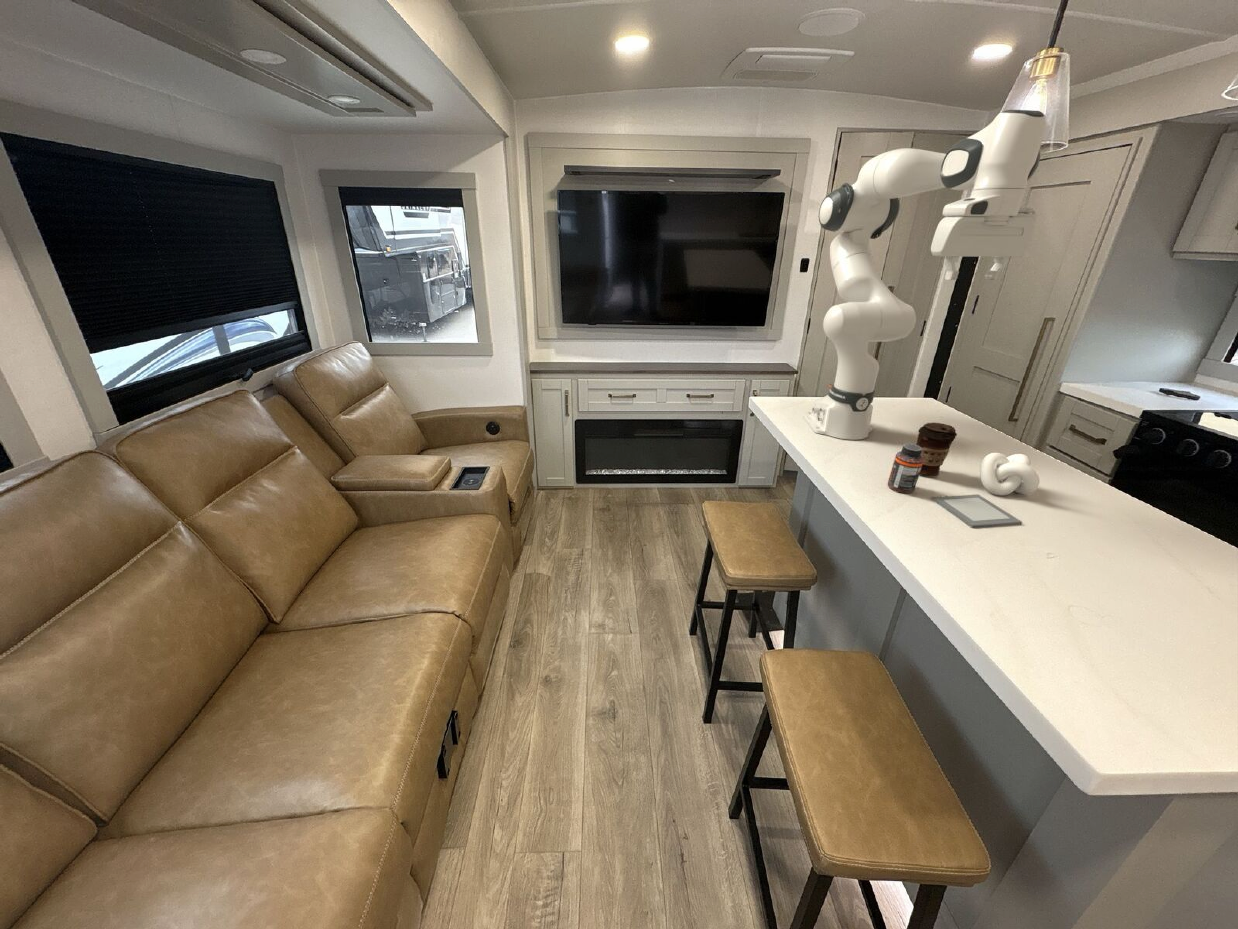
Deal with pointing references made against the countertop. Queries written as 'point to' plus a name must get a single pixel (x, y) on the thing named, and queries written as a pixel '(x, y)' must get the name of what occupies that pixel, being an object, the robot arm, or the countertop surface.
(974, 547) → the countertop surface
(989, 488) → the white decorative knot
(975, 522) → the coaster
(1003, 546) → the countertop surface
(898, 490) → the supplement bottle
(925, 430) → the coffee cup
